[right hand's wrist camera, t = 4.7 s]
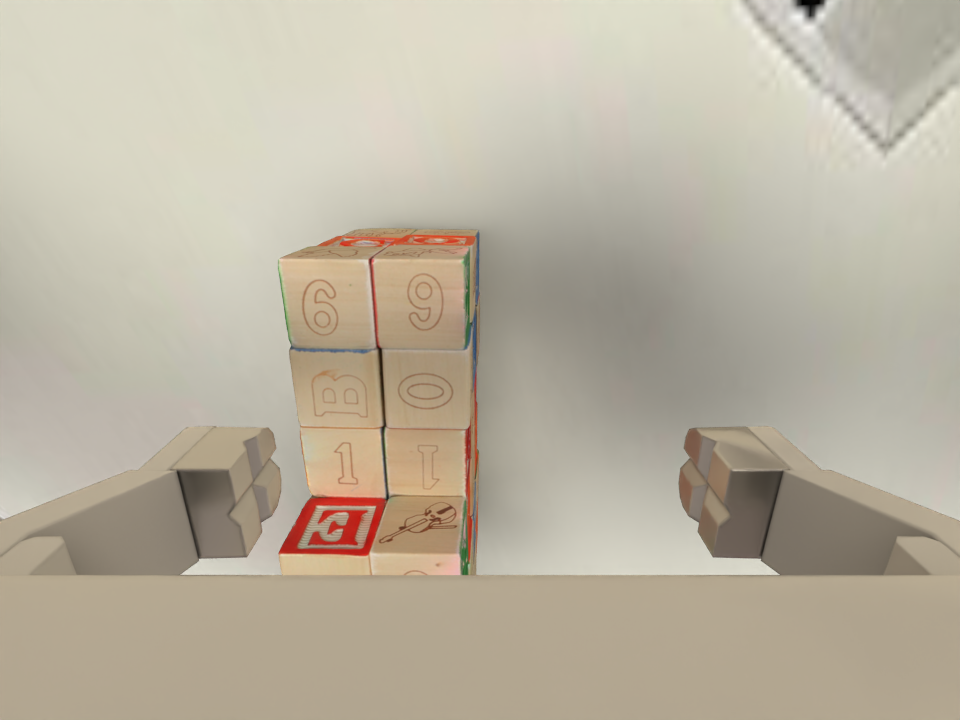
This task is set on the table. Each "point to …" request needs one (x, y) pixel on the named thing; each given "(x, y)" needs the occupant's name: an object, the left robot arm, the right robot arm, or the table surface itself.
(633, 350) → the table surface
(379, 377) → the stack of blocks
